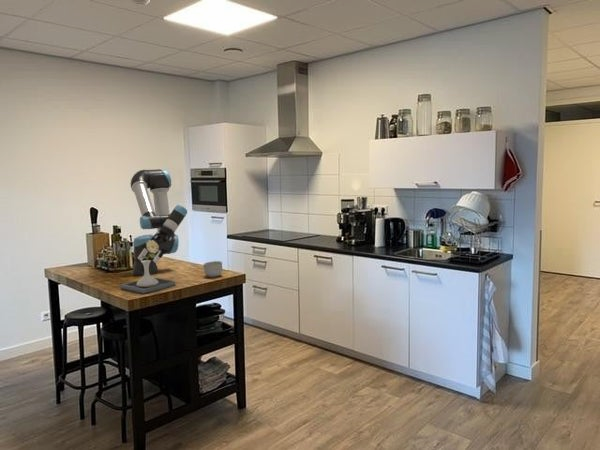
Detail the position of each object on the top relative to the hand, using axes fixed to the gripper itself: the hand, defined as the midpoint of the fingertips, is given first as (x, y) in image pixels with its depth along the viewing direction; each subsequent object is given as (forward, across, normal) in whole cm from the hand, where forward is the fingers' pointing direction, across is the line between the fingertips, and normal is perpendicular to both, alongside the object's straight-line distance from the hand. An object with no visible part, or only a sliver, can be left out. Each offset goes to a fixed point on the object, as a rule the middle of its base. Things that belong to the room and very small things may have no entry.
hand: (147, 260), depth 247 cm
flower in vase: (+10, 0, -10) cm, 14 cm away
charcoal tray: (+10, +1, -10) cm, 15 cm away
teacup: (-17, -9, -39) cm, 43 cm away
